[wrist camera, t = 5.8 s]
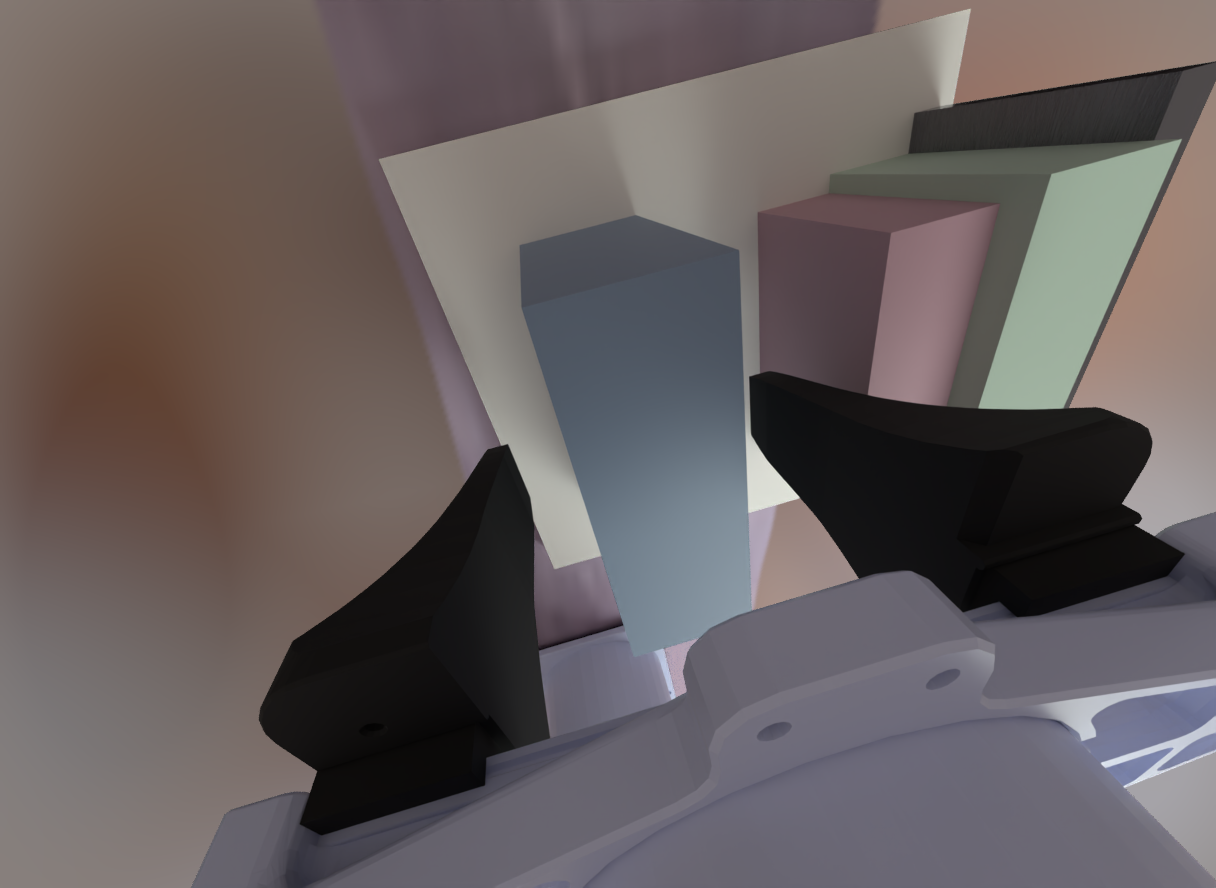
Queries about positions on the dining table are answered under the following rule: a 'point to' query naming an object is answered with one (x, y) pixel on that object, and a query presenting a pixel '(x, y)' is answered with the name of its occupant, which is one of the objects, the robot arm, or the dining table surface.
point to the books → (955, 271)
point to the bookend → (1077, 127)
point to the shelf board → (651, 211)
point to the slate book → (650, 414)
